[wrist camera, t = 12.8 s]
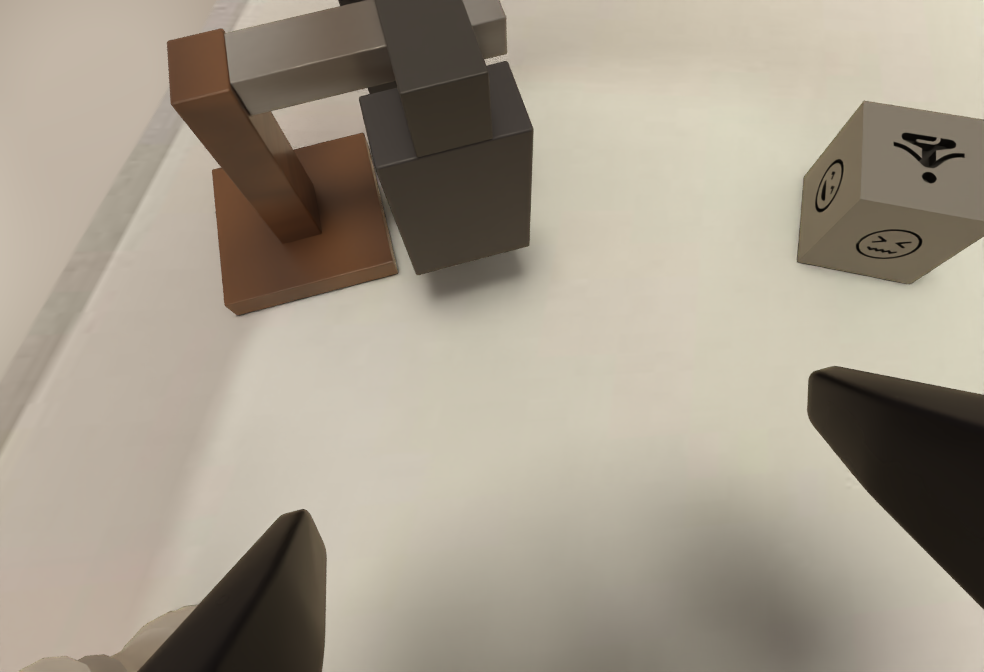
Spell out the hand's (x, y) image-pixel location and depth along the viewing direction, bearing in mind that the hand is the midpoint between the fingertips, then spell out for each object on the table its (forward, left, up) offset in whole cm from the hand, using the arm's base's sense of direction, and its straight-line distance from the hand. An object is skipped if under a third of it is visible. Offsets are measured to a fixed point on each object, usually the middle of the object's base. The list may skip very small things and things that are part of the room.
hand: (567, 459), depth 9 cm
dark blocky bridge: (+12, -11, -11) cm, 19 cm away
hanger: (+15, -8, -14) cm, 21 cm away
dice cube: (-6, -19, -14) cm, 24 cm away
